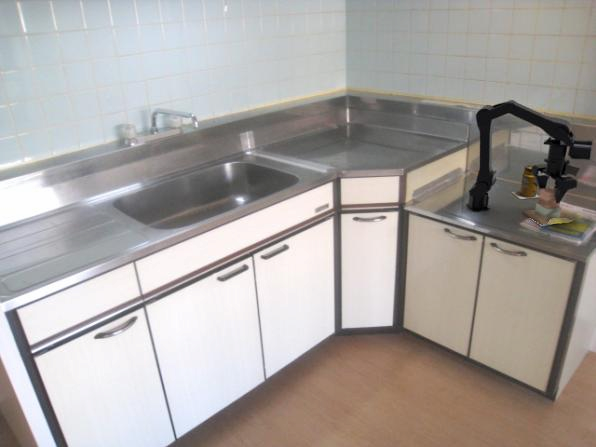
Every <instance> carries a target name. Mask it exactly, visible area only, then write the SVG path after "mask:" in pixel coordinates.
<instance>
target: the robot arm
mask: <svg viewBox="0 0 596 447" xmlns="http://www.w3.org/2000/svg"><path fill="white" fill-rule="evenodd" d="M504 115H512V116H514V117H516V118H519V119H520V120H523V121H525V122H527V123H529V124H531V125H533V126H535V127H537V128H540V129H541V130H542V131H543V132H544V133H545V134H546V135H548V136H549V137H547V139H545V140H544V141H543V145H544V146H545V145H547V146H548V151H547V158H544V160H543V162H544V163H541V164H533V165H532V166H533V167H532V168H531V173H533V176H534V178H535V180H536V182H537V185H538V186H537V189H538V190H539V191H540V189H542V188H547V184H548V180H549V179H550V178H551V179H553V180H554V186H553V187H554V192H555V200H556V203H560V204H561V201H562V200H563V198H564V197H565V195H566V194H567V192H568V191H569V190H574V189H576V188H578V184H579V181H578V180H577V179H576V178H573V177H577V175H578V173H579V171H580V169H581V167H579V166H577V165H576V164H572V163H571V162H570V161H571V160H580V161H590V160H591V155H592V151H593V147H592V146H593V139H577V138H576V135H574V133H573V131H572V124H571V123H570V121H568V120H567V119H562V118H559V117H555V116H554V117H553V116H548V115H545V114H543V113H541V112H539V111H537V110H534V109H532V108H529V107H527V106H525V105H523V104H521V103H519V102H517V101H515V100H514V99H509V100H507V101H504V102H500V103H497V104H494V105H492V104H485V105H483V106H482V107H481V108H480V109H479V110H477V112H476V114H475V119H476V120H475V122H476V126H477V128H478V131H479V170H478V174H477V176H476V180H475V183H473V185H472V186H471V187H470V189H469V190H468V193H469V195H468V203H467V204H466V205H465V206H467V207H468V208H469V209H470V210H471V211H473V212H479V211H480V212H481V211H486V210H490V208H489V207H488V206H489V200H490V196H489V192H490V191H491V189H492V187H493V186H494V185H495V184H496V183H497V180H498V179H497V173H498V172H497V170H493V168H492V154H493V153H492V150H493V149H492V148H493V147H492V145H493V128H494V125H495V121H496V119H497V118H499V117H503V116H504ZM568 147H569V148H568ZM568 149H569V150H568ZM567 155H568V156H569V158H570V159H571V160H569V159H567ZM568 175H572V176H573V177H572V176H568Z"/></svg>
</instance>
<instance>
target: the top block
mask: <svg viewBox="0 0 596 447" xmlns="http://www.w3.org/2000/svg"><path fill="white" fill-rule="evenodd" d="M538 195H539V197H538V202H537V203H538V204H539V205H541V206H542V207H544V208H546V209H551V208H558V207H561V202H560V203H556V200H555V192H554V186H551V187H546V188H542V189H540V190H539V194H538Z"/></svg>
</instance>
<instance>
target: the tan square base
mask: <svg viewBox="0 0 596 447" xmlns="http://www.w3.org/2000/svg"><path fill="white" fill-rule="evenodd" d="M535 204H536V205H535V209H529V210H523V211H522V214H523V215H524V216H525V217H526V218H528V219H529V218H531V219H533V220H534V221H536V222H538V223H539V224H541V225H543V224H547V223H548V222H549V220H550V219H552V218H567V219H569V220H573V219H572V218H570V217H568V216H567V215H565V214H563V213H562V207H561V206H559V207H558V208H551V209H546V208H544V207H542V206H541V205H539V204H538V202H537V203H535ZM531 219H530V220H531ZM534 221H533V222H534Z"/></svg>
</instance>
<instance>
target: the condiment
mask: <svg viewBox="0 0 596 447" xmlns="http://www.w3.org/2000/svg"><path fill="white" fill-rule="evenodd" d="M533 166H534V165H532V164H531V165H530V164H529V165H526V166H525V167H524V169H523V171H524V172H523V173H522V178H521V183H520V185H521V186H520V191H511V194H513V195H514V196H516V197H517V198H519V199H520V200H525V199H537V198H539V195H540V194H537V192H538V185H537V182H536V180H535V178H534V176H533V173H531V168H532V167H533Z"/></svg>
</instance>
